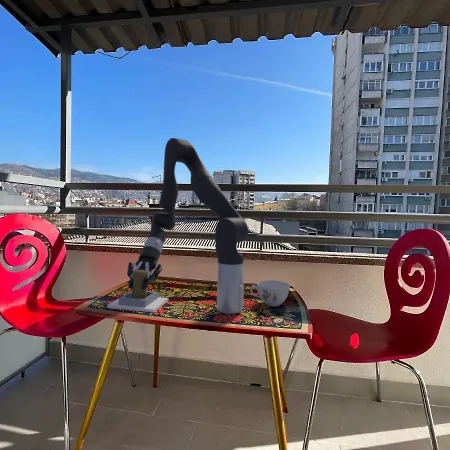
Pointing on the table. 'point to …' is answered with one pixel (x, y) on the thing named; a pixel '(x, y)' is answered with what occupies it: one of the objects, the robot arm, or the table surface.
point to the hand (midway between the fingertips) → (136, 288)
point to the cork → (138, 284)
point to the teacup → (272, 291)
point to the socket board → (139, 302)
